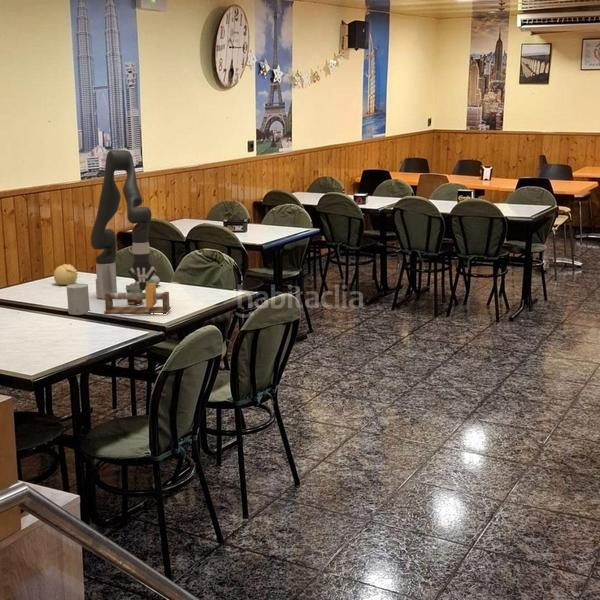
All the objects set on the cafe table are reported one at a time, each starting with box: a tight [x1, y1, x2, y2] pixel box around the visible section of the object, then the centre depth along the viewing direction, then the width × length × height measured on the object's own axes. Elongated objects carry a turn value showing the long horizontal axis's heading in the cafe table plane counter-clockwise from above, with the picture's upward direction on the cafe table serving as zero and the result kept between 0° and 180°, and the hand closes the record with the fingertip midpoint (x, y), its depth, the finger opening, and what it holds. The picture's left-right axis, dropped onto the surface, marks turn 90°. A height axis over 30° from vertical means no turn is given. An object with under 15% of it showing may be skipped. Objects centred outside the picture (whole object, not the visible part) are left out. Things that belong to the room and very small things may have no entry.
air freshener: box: [142, 266, 161, 287], centre depth 442 cm, size 11×8×10 cm
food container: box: [125, 280, 144, 306], centre depth 405 cm, size 12×6×10 cm, turn 168°
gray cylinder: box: [65, 283, 91, 316], centre depth 389 cm, size 10×10×12 cm
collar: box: [144, 284, 157, 307], centre depth 387 cm, size 3×8×9 cm, turn 177°
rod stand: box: [103, 291, 172, 314], centre depth 388 cm, size 28×10×9 cm, turn 87°
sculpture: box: [53, 263, 78, 286], centre depth 449 cm, size 12×12×11 cm
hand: (143, 290), depth 387 cm, fingers closed
